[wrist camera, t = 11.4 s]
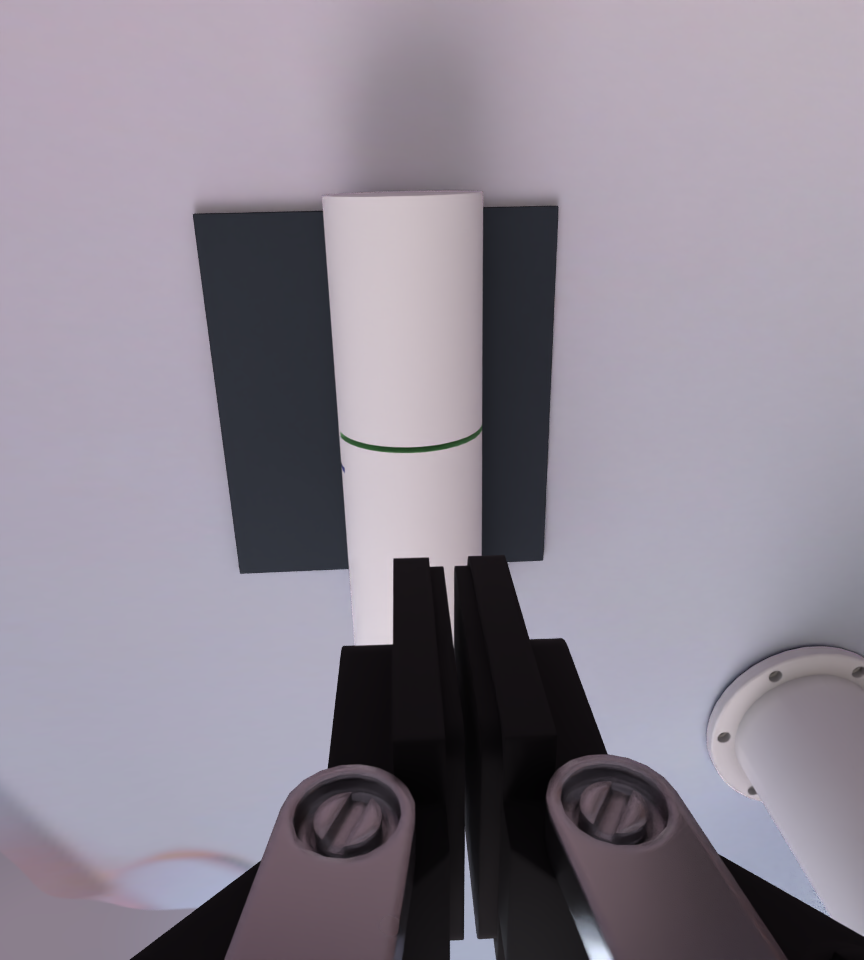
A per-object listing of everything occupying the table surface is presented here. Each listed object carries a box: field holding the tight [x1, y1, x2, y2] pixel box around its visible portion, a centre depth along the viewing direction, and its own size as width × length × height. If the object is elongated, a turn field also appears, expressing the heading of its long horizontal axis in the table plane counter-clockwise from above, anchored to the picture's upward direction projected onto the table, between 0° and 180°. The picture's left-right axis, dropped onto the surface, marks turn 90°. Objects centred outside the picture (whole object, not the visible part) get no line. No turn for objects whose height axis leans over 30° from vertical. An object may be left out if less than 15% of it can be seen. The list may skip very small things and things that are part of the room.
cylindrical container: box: [322, 190, 483, 646], centre depth 38 cm, size 7×7×25 cm
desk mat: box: [193, 206, 558, 574], centre depth 41 cm, size 18×20×1 cm
